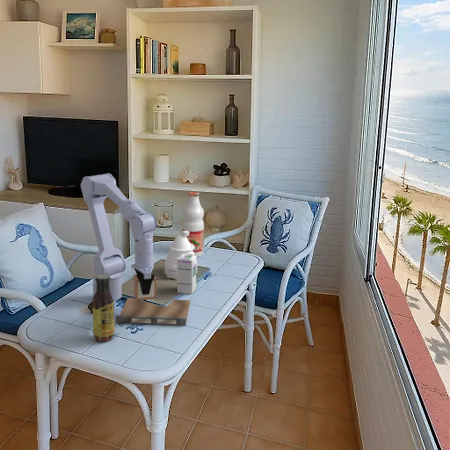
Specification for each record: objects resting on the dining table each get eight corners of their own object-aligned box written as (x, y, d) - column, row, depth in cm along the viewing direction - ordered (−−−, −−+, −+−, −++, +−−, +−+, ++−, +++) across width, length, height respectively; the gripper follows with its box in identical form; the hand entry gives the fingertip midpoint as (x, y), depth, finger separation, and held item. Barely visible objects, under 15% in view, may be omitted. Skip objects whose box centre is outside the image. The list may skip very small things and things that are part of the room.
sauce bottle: (103, 345, 146) (101, 283, 140) (88, 338, 149) (85, 277, 143) (119, 335, 151) (117, 275, 145) (104, 330, 154) (102, 270, 148)
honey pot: (200, 269, 203) (201, 228, 198) (192, 282, 191) (193, 237, 186) (169, 266, 205) (170, 225, 200) (160, 278, 193) (160, 234, 188)
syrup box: (192, 297, 178) (193, 260, 174) (176, 295, 179) (176, 258, 175) (196, 291, 183) (197, 254, 179) (181, 289, 184) (181, 252, 180)
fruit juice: (207, 253, 221) (209, 192, 213) (193, 259, 214) (194, 196, 206) (192, 248, 227) (193, 189, 218) (177, 254, 220) (178, 192, 211)
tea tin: (134, 294, 161) (133, 274, 159) (153, 292, 163) (153, 273, 161) (136, 300, 157) (135, 280, 155) (156, 298, 159) (156, 278, 157)
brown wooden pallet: (116, 326, 156) (115, 316, 155) (127, 301, 174) (127, 292, 173) (185, 329, 156) (185, 319, 155) (190, 303, 173) (190, 294, 172)
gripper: (128, 244, 161) (129, 283, 165) (134, 260, 148) (135, 301, 152) (149, 243, 163) (150, 281, 167) (157, 258, 150) (157, 299, 154)
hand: (144, 291), depth 160 cm, fingers closed on tea tin, 4 cm apart
